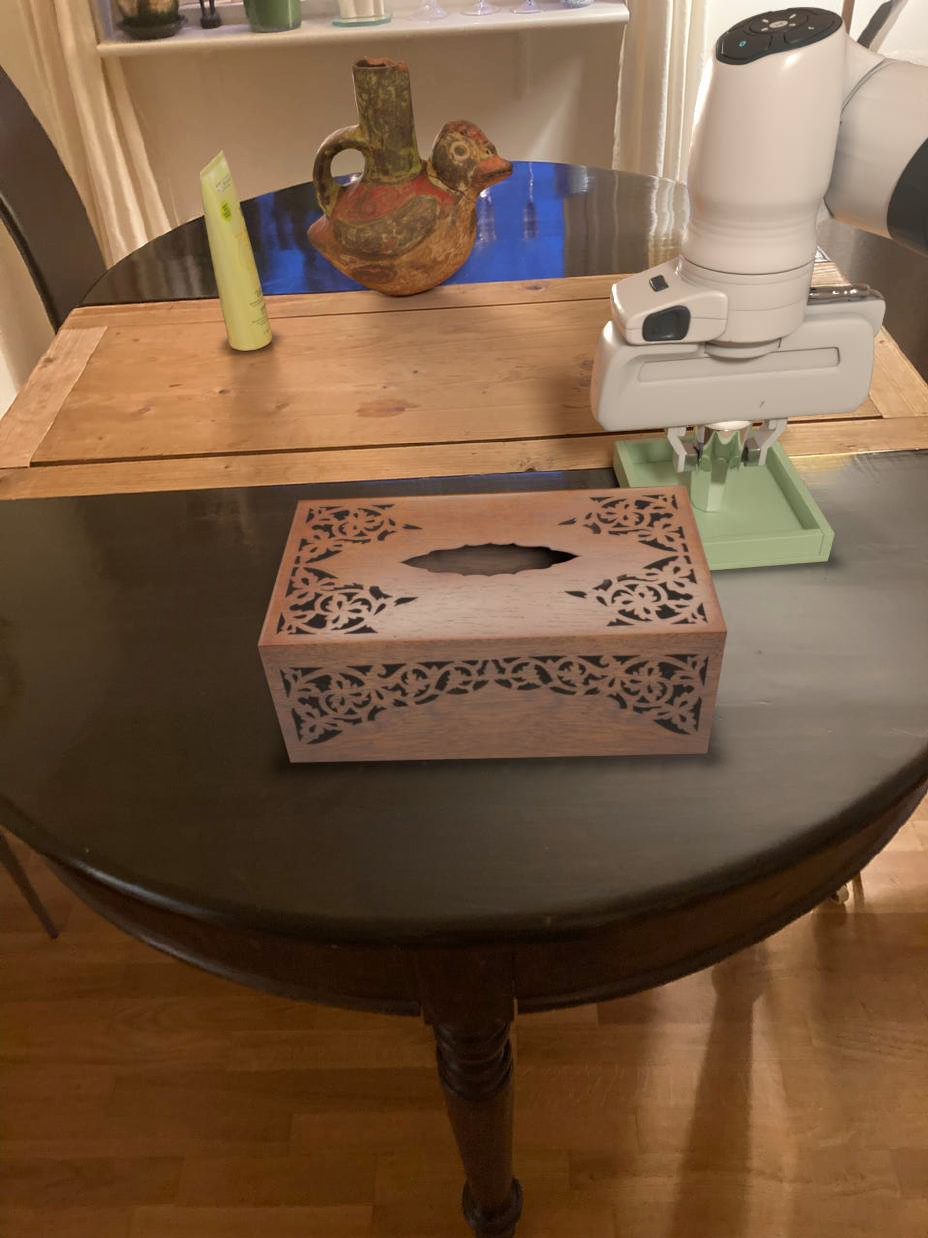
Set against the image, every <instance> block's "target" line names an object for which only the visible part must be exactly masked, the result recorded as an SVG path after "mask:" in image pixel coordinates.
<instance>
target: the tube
mask: <svg viewBox="0 0 928 1238" xmlns="http://www.w3.org/2000/svg"><path fill="white" fill-rule="evenodd" d="M199 188H200V196H201V204H202V209H203V216H204V223H205V227H206V234H207V239H208V246H209V250H210V257H211V263H212V268H213V272H214V278H215V282H216V287H217V293H218V299H219V302H220V303H219V304H220V308H221V312H222V317H223V321H224V326H225V331H226V335H227V340H228V343H229V346H230V347H231V348H232V349H234V350H237V351H243V352H244V351H245V352H246V351H247V352H248V351H256V350H258V349H262V348H265V347H266V346H267V345H269V344H270V343H271V342H272V339H273V335H272V330H271V324H270V322H269V321H270V320H269V315H268V311H267V307H266V303H265V299H264V294H263V293H264V292H263V290H262V285H261V281H260V276H259V272H258V268H257V264H256V260H255V256H254V252H253V248H252V244H251V240H250V236H249V233H248V229H247V224H246V221H245V218H244V214H243V211H242V207H241V203H240V200H239V196H238V192H237V188H236V186H235V182H234V178H233V175H232V173H231V170H230V167H229V164H228V161H227V158H226V155H225V152H224V150H223V149H221V151H220V152H219V153H218V154H216V156H215V157H214V158H213V159H212V160H211V161H210V162H209V163H208V164H207V165H206V166H205V167H204V168H202V170H201V171H199Z"/></svg>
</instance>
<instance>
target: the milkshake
mask: <svg viewBox="0 0 928 1238" xmlns="http://www.w3.org/2000/svg"><path fill="white" fill-rule="evenodd" d="M764 403H765V401H764V402H763V404H764ZM763 404H762V405H763ZM762 405H761V406H762ZM761 406H760V408H761ZM754 421H755V420H751V421H730V422H721V423H713V424H700V425H692V435H693V445H694V449H695V450H696V451H697V454H698V455H697V462H696V463H695V465H696V470H695V471H692V477H691V502H692V503H693V504H694V506H695V507H696V508H698V509H701V510H703V511H706V512H720V511H723V510H725V509H728V508H729V506H730V504H731V502H732V499H733V495H734V491H735V487H736V483H737V479H738V475H739V471H740V467H741V463H742V459H743V455H744V452H745V449H746V446H747V442H748V439H749V436H750V432H751V430H753V429H752V428H753V425H754Z"/></svg>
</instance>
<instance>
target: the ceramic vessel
mask: <svg viewBox="0 0 928 1238" xmlns="http://www.w3.org/2000/svg"><path fill="white" fill-rule="evenodd" d="M350 67H351V76H352V81H353V92H354V99H355V105H356V110H357V117H358V124H356V125H349V126H345V127H341V128H339V129H337V130H335V131H334V132H332V133H330V135H328V136H326V137H325V139H324V141H323V142H322V143H321V145H320V146H319V147H318V149H317V152H316V154H315V156H314V160H313V167H312V183H313V184H312V185H313V186H312V187H313V190H314V195H315V197H316V200H317V203H318V205H319V207H320V208H321V210H322V211H323V215H322V216H321V217H320V218H319V219H317V220H316V221H314V223H312V224H311V225H310V227H309V228H308V230H307V232H306V235H307V238H308V241H309V242H310V243H311V245H312V246H313V247H314V248H315V250H316V251H317V252H318V253H319V254H320V255H321V256H322V257H323V258H324V259H325V260H326V261H328V262H329V263H330V264H331V265H332V266H333V267H334V268H336V269H337V270H338V271H339V272H340V273H342V274H343V275H345V276H347V277H348V278H350V279H351V280H353V281H355V282H356V283H358V284H360V285H361V286H363V287H366V288H367V289H370V290H371V291H376V292H378V293H382V294H387V295H390V296H391V295H392V296H409V295H414V294H418V293H420V292H424V291H428V290H429V289H432V288H435V287H437V286H438V285H439V286H440V284H443V283H444V282H445V281H447V280H448V279H449V278H451V277H452V276H453V275H454V274H455V273H457V271H459V270H460V269H461V267H462V266H463V265H464V264H465V262H466V261H467V260H468V258H469V257H470V256H471V253H472V251H473V248H474V246H475V243H476V239H477V234H478V209H477V203H478V199H479V197H480V194H481V193H482V192H484V191H485V190H487V189H488V188H490V187H492V186H495V185H497V184H499V183H501V182H502V181H504V180H507V179H508V178H509V177H510V176H512V175H513V173H514V170H513V169H514V164H513V162H512V161H510V160H507V159H505V158H502V157H501V156H500V155H499V153H498V150H497V148H496V146H495V144H493V142H491V140H490V139H488V137H487V136H486V134H485V133H484V132H483V131H482V130H481V128H480V127H479V126H478V125H477V124H476V123H473V122H471V121H469V120H466V119H453V120H449V121H447V122H444V124H442V126H441V127H440V130H439V132H438V133H437V135H436V137H435V139H434V140H433V142H432V145H431V149H430V152H429V155H428V158H427V159H423V158H421V156H420V152H419V147H418V140H417V134H416V126H415V117H414V108H413V100H412V90H411V78H410V71H409V67H408V64H407V61H404V60H402V59H401V60H400V61H398V62H395V61H394V60H392V59H390V58H388V57H379V58H370V57H369V56H367V55H362V56H360V57H358V58H356V59H355V60H353V62H352V63H351V65H350ZM349 149H353V150H356V151H358V152H361V155H362V157H363V159H364V165H363V167H364V169H363V172H362V174H361V175H360V176H359V177H357V178H356V179H354V180H352V181H350V182H348V183H345V184H341V183H338V182H336V181H335V179H334V177H333V175H332V170H331V168H332V163H333V159H334V158H335V157H336V156H338V154H339V153H341V152H343V151H345V150H349Z"/></svg>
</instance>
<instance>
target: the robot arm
mask: <svg viewBox="0 0 928 1238" xmlns="http://www.w3.org/2000/svg"><path fill="white" fill-rule="evenodd" d="M846 27H847V26H846V22H845V20H844V18H843V17H842V16H841V15H840V14H838V13H837V12H835V11H833V10H832V11H831V10H829V9H824V8H822V7H813V6H799V7H798V6H796V7H787V8H785V9H778V10H768V11H765V12H761V13H757V14H755V15H752V16H749V17H747V18H745V19H743V20H740V21H738V22H737V23H735V24H733V25H732V26H731V27H730V28H729V29H727V30H725V31H724V32H723V33H722V34H720V35H719V37H718V38H716V40H715V43H714V44H713V46H712V48H711V51H710V53H709V55H708V57H707V60H706V64H705V65H704V70H703V73H702V77H701V80H700V84H699V88H698V92H697V97H696V103H695V107H694V113H693V119H692V126H691V133H690V142H689V150H688V159H687V173H686V188H687V193H688V199H689V215H688V221H687V224H686V228H685V230H684V232H683V236H682V238H681V242H680V247H679V255H678V256H676V257H673V258H671V259H669V260H667V261H665V262H663V263H661V264H658V265H656V266H653V267H650V268H648V269H645V270H642V271H640V272H638V273H635V274H633V275H630V276H627V277H624V278H623V279H620V280H618V281H617V282H615V283H614V284H613V285H612V286H611V289H610V294H609V295H610V296H609V300H610V301H609V302H610V311H611V315H612V319H611V320H609V321H608V322H607V323H606V325H605V326H604V327H603V329H602V330H601V332H600V334H599V337H598V340H597V343H596V347H595V351H594V352H595V353H594V357H593V365H592V369H591V379H590V390H589V404H590V405H589V406H590V410H591V413H592V416H593V418H594V421H595V422H596V424H598V426H599V427H601V429H602V430H603V431H605V432H609V433H610V432H623V431H635V430H636V431H637V430H645V429H646V430H647V429H663V431H664V433H665V437H667V438H668V440H669V442H670V443H671V445H672V447H673V448H674V449H673V466H674V469H675V471H676V473H680V472H692V471H695V470H696V465H695V463H696V462H697V455H698V454H697V451H696V450H695V449H694V445H693V443H692V442H690V443H682V441H681V440H680V438H679V437H682V436H685V435H687V434H686V433H687V426H693V425H700V424H713V423H721V422H730V421H751V420H754V421H762V420H763V422H762V424H761V425H760V426H759V428H758V429H756V430H757V432H756V433H755V435H754V436H753V437H752V438H749V439H748V442H747V446H746V449H745V452H744V455H743V459H742V462H743V463H744V464H743V465H744V467H754V466H764V464H765V460H766V455H767V449H768V448H770V447H771V446H772V444H773V443H774V442H775V441H776V440H777V439H778V440H779V438H780V436H782V434H783V433H784V432H785V431H786V430H787V426H788V420H789V418H799V417H801V418H802V417H813V416H814V417H815V416H826V415H839V414H850V413H855V412H856V411H857V410H858V409H860V408H861V407H862V405H864V403H865V402H867V401H868V399H869V394H870V389H871V384H872V380H873V379H872V378H873V373H874V372H873V371H874V360H875V339H876V337H877V336H878V335H879V333H880V332H881V330H882V325H883V322H884V318H885V314H886V309H887V308H886V306H887V305H886V301H885V300H886V299H885V298H884V296H883V295H882V293H881V292H879V291H878V290H876V289H873V288H871V286H870V284H868V283H857V282H856V283H851V284H847V285H840V286H839V285H838V286H837V285H822V286H821V285H819V286H811V285H812V280H813V275H814V270H815V264H816V256H817V253H818V235H817V228H818V227H819V225H820V224H821V223H823V222H825V221H830V220H833V219H834V220H835V221H837V222H838V223H842V224H845V225H847V226H849V227H853V228H857V229H859V230H863V231H865V232H869V233H872V234H874V235H877V236H879V237H880V236H881V237H883V238H887V239H889V240H892V241H893V242H894V243H896V244H897V245H899V246H901V247H903V248H906V249H907V250H910V251H912V252H914V253H915V254H919V256H920V255H921V256H922V257H925V258H927V259H928V65H923V64H918V63H917V64H916V63H913V62H911V61H909V60H903V59H897V58H892V57H886V56H885V54H881V53H880V52H879V53H878V52H876V51H874V50H872V49H869V48H867V47H865V46H864V45H862V44H861V43H859V42H858V41H856V40H855V39H854V38H852V37H851V36H850V34H849V33H848V32H847V28H846ZM764 401H765V403H764V404H763V402H764ZM762 404H763V405H762ZM761 405H762V406H761ZM760 406H761V408H760Z"/></svg>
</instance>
